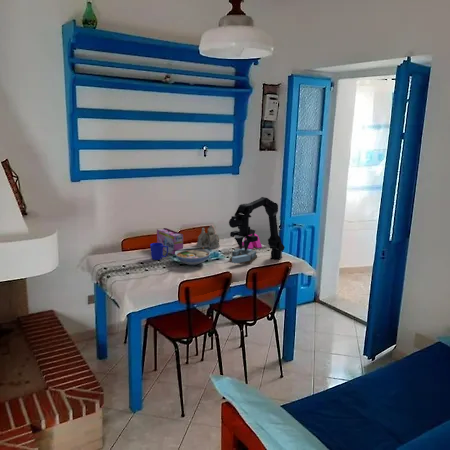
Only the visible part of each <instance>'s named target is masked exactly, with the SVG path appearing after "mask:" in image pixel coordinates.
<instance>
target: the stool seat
mask: <svg viewBox="0 0 450 450" xmlns="http://www.w3.org/2000/svg"><path fill="white" fill-rule="evenodd" d="M246 254H251V260H250V261H245V262H240V263H241V264H247V265H250V264H252V263H253V262H254V261H256V260H257V259H258V255H257V250H253V249H248V248H247V250H246V251H245V248H244V247H242V249H240V248H235V249H234V250H233V251H232V252H231V257H230V258H229V262H232V257H235V256H240V255H246Z"/></svg>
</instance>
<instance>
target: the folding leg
mask: <svg viewBox="0 0 450 450" xmlns="http://www.w3.org/2000/svg"><path fill="white" fill-rule="evenodd" d="M231 257H232V256H231ZM250 260H251V254H246V255H240V256H235V257H232V261H231V263H233V264H239V263H240V262H245V261H250Z"/></svg>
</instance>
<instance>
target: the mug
mask: <svg viewBox="0 0 450 450" xmlns="http://www.w3.org/2000/svg"><path fill="white" fill-rule="evenodd" d="M149 245H150V246H149V247H150V255H151V256H150V257H151V260H154V261H159V260H162V259H163V258H166V257H167V256H168V254H169V252H168V246H163V244H162V243H157V242H153V243H150V244H149ZM163 247H167V252H166V254H165V255H163V253H164V250H163Z"/></svg>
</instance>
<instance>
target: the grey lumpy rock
mask: <svg viewBox="0 0 450 450" xmlns="http://www.w3.org/2000/svg"><path fill="white" fill-rule="evenodd" d="M205 230H206V229H205V227H202V228H201V232H200V234H199V235H198V236H197V242H196V246H197V247H198V248H201V247H209V248H210V249H218V248H221V247H220V238H219V234H216V231H215V228H214V227H213V225H212V224H210V225H209V227H208V228H207V230H206V231H207V232H206V231H205Z"/></svg>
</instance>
